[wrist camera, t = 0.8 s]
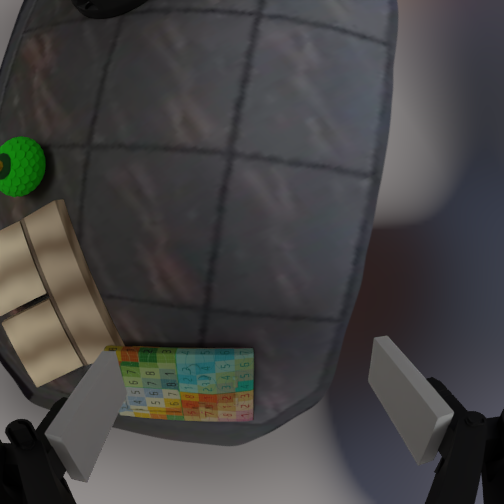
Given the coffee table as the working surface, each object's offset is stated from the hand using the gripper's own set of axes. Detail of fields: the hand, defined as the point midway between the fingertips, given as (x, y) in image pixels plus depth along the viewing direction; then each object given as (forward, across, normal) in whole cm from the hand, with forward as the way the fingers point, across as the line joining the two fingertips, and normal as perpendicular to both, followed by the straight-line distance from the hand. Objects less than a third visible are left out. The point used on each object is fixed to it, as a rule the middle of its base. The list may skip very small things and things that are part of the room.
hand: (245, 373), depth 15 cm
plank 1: (+23, -34, 0) cm, 42 cm away
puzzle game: (+26, -10, -17) cm, 32 cm away
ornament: (+26, -29, +14) cm, 42 cm away
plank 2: (+23, -31, -11) cm, 40 cm away
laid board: (+26, -24, -3) cm, 36 cm away
